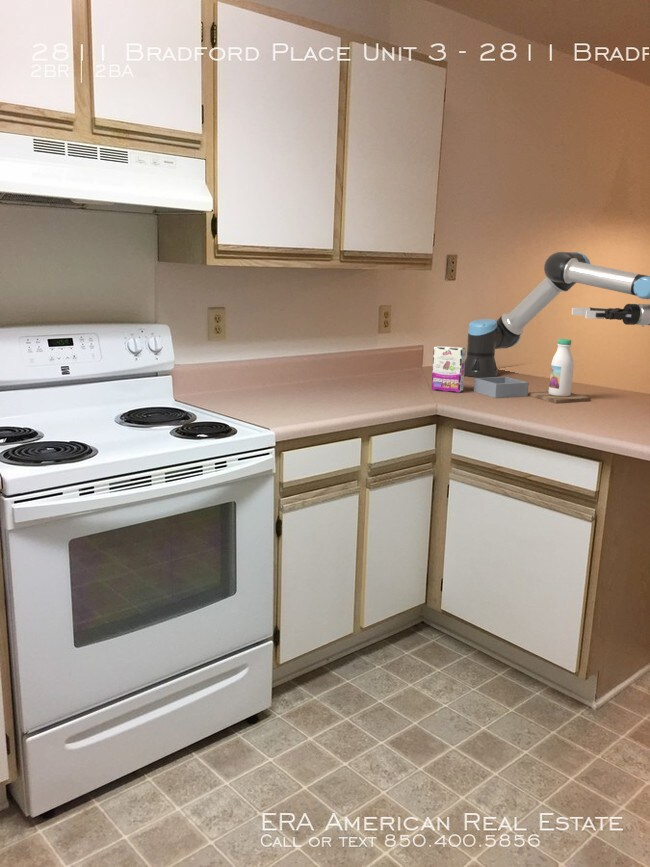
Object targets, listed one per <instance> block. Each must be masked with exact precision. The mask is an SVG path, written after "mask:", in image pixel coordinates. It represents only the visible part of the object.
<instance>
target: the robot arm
mask: <svg viewBox="0 0 650 867" xmlns="http://www.w3.org/2000/svg"><path fill="white" fill-rule="evenodd" d="M543 271H544V274H545V276H546V277H545V278H543V280H542V281H540V282H539V284H537V285H536V286H535V288H533V289H532V290H531V291H530V292H529V294H527V295H526V296H525V297H524V298H522V300H521V301H520V302H519V303H518V304H517V305H516V306H515V307H514V308H513V309H512V310H511V311H510V312H509V313H506V312H505V313H503V314H502V315H501V316H500V317H499V318H498V319H493V318H491V319H490V318H481V319H479V318H478V319H475V320H472V321H471V322H469V324H468V329H467V346H466V347H467V348H466V356H465V369H464V377H465V376H466V377H471V378H473V377H474V378H488V377H498V366H497V363H496V359H495V352H496V350H499V349H509V348H512V347H514V346H515V345H517V343H518V342H519V341H520V339H521V335H522V334H523V333H524V327H526V326H527V325H528V323H530V322H531V321H532V320H533V319H534V318H535V317H536V316H538V314H539V313H541V311H543V309H545V308H546V307H547V306H548V305H550V303H552V302H553V300H555V298H556V297H558V295H560V294H561V293H562V292H569V290H571V288H573V287H574V286H575V285H576V284H582V285H586V286H591V287H595V288H598V289H599V288H600V289H604V290H608V291H613V292H618V293H622V294H626V295H632V296H636V297H637V298H639V299H642V300H650V276H649V275H647V274H640V273H635V272H631V271H625V270H621V269H615V268H612V267H611V268H610V267H606V266H601V265H595V264H592V263H591V261H590V259H589V258H588V256H587V255H586V254H584V253H582V252H581V253H580V252H578V251H573V252H572V251H570V252H568V251H567V252H566V251H556V252H555V253H552V254H551V255H549V256H548V257H547V259H546V261H545V262H544V266H543ZM571 315H572V316H585V319H592V320H593V319H596V320H598V319H599V320H601V319H602V320H604V319H606V320H610V321H611V320H617V321H622V323H623V324H624V325H627V326H630V325H631V326H635V325H636V326H641V327H643V328H644V327H645V326H650V303H638V304H637V303H627V304H625V305H624V306H623V308H619V307H614V308H612V307H609V308H608V307H607V308H598V307H572V308H571Z"/></svg>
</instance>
